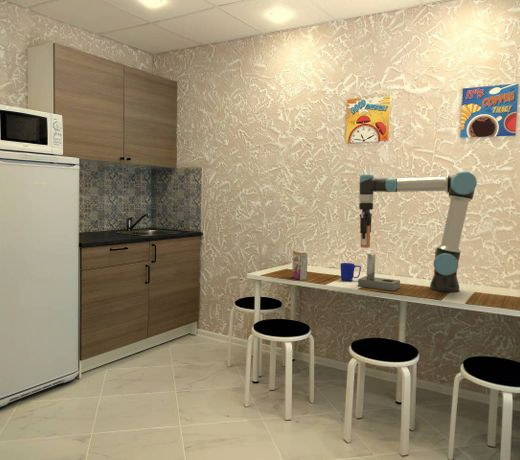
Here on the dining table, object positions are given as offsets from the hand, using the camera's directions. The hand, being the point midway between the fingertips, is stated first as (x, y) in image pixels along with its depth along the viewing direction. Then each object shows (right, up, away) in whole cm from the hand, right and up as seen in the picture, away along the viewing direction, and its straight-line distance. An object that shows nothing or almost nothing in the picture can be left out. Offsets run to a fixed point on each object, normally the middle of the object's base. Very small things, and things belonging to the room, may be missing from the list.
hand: (365, 244), depth 257 cm
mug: (-5, -22, +19) cm, 30 cm away
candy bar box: (-35, -22, +21) cm, 46 cm away
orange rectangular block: (0, -2, 0) cm, 2 cm away
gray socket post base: (+8, -24, +1) cm, 25 cm away
